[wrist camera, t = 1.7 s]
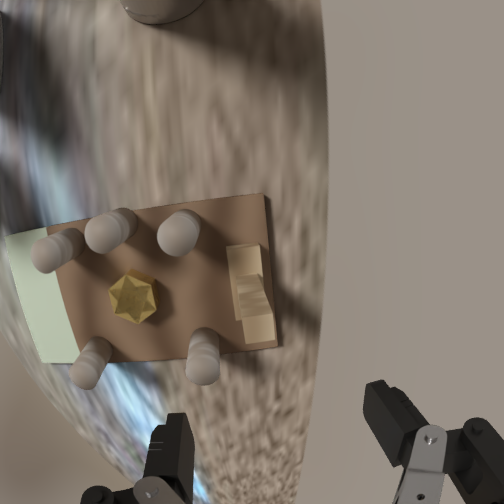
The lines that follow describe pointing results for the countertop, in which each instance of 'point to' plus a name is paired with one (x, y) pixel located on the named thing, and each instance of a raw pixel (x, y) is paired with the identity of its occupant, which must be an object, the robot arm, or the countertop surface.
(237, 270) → the light wood t-shaped block
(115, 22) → the countertop surface
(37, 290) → the green pad
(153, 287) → the gold star hexagon
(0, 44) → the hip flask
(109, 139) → the countertop surface
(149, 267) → the board
